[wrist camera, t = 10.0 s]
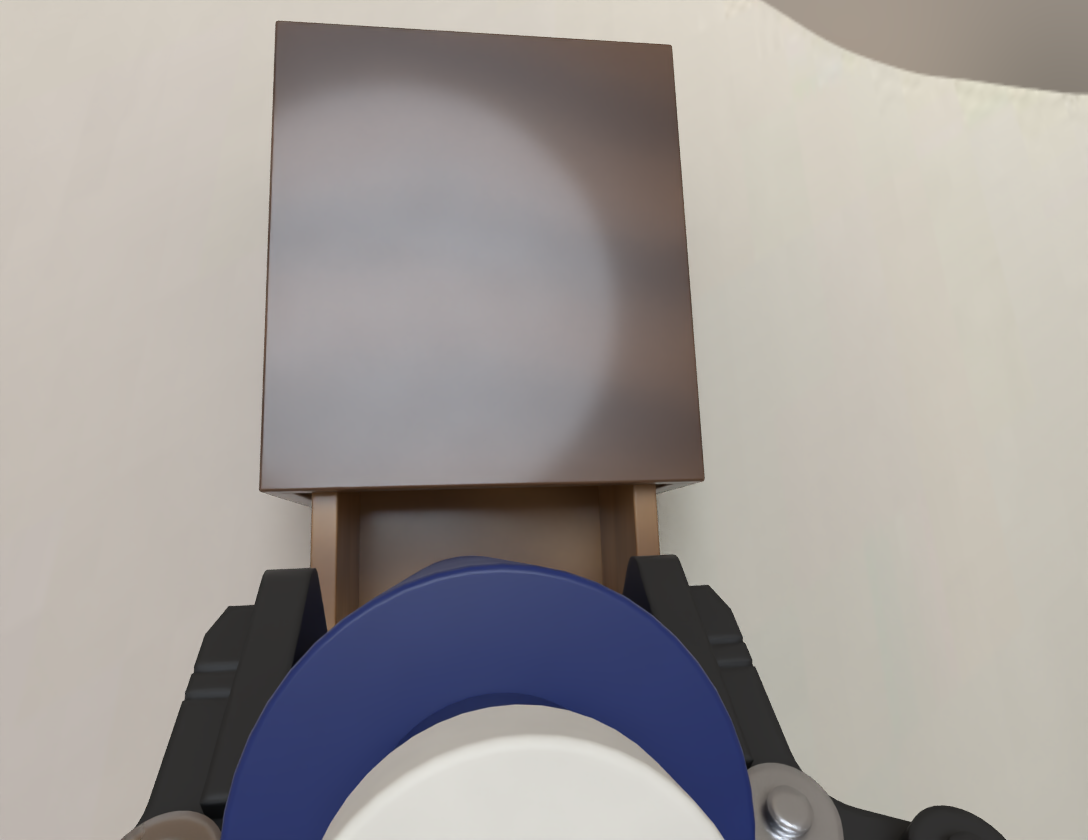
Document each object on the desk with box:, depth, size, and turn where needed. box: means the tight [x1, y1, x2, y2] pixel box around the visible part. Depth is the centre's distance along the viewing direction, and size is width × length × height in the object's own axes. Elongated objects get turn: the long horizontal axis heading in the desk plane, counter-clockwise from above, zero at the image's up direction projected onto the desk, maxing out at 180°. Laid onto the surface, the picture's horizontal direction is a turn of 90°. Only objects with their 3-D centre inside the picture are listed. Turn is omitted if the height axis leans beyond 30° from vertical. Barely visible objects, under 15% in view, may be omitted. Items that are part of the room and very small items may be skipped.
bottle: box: [220, 556, 755, 840], centre depth 11 cm, size 5×5×14 cm
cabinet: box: [259, 21, 705, 507], centre depth 27 cm, size 16×14×9 cm
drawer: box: [310, 484, 660, 631], centre depth 25 cm, size 18×12×7 cm
